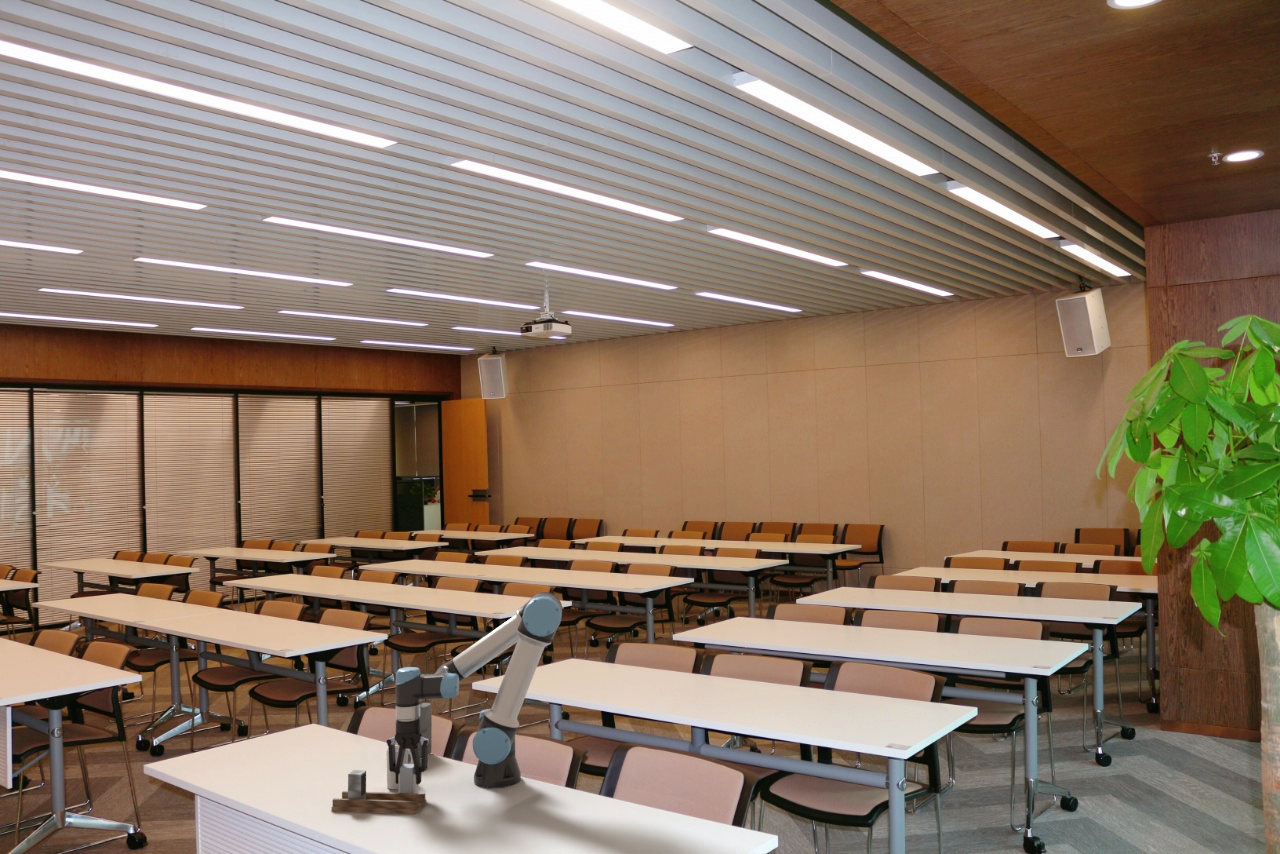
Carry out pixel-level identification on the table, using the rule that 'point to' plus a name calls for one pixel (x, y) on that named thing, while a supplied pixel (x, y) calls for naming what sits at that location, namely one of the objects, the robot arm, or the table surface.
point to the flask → (425, 726)
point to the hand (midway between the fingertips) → (408, 794)
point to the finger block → (406, 778)
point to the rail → (375, 798)
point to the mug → (391, 775)
